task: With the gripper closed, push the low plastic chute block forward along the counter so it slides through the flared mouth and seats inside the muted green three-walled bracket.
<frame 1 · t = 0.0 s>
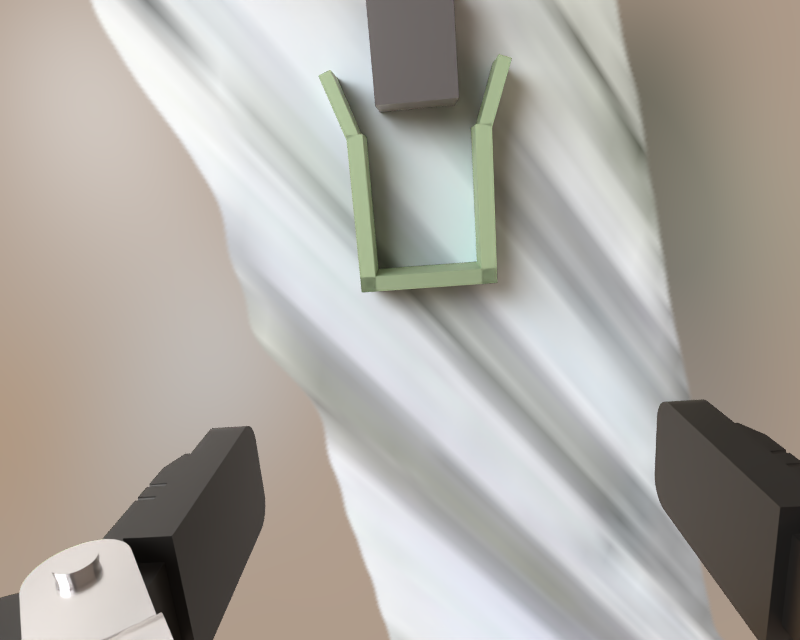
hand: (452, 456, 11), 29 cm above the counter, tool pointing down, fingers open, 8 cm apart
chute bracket: (423, 208, 39), on the counter
chute block: (412, 51, 36), on the counter
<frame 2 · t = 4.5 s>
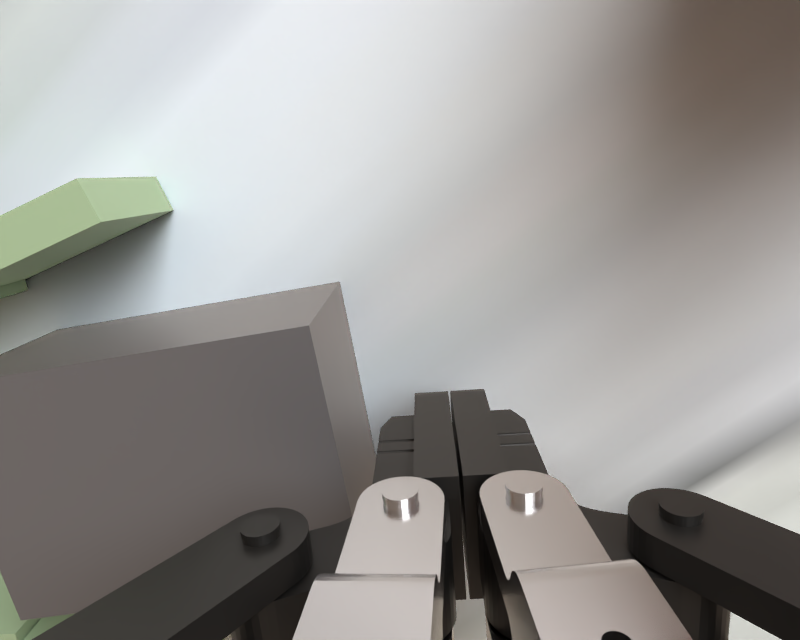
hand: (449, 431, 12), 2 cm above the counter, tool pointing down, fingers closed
chute block: (225, 399, 14), on the counter
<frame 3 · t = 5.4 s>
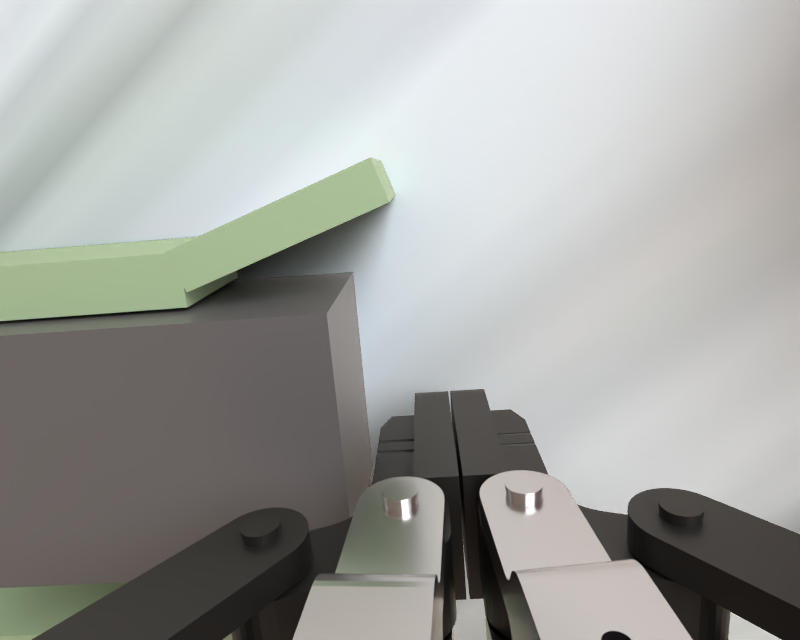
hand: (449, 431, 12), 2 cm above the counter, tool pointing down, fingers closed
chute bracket: (65, 427, 14), on the counter
chute block: (223, 380, 14), on the counter
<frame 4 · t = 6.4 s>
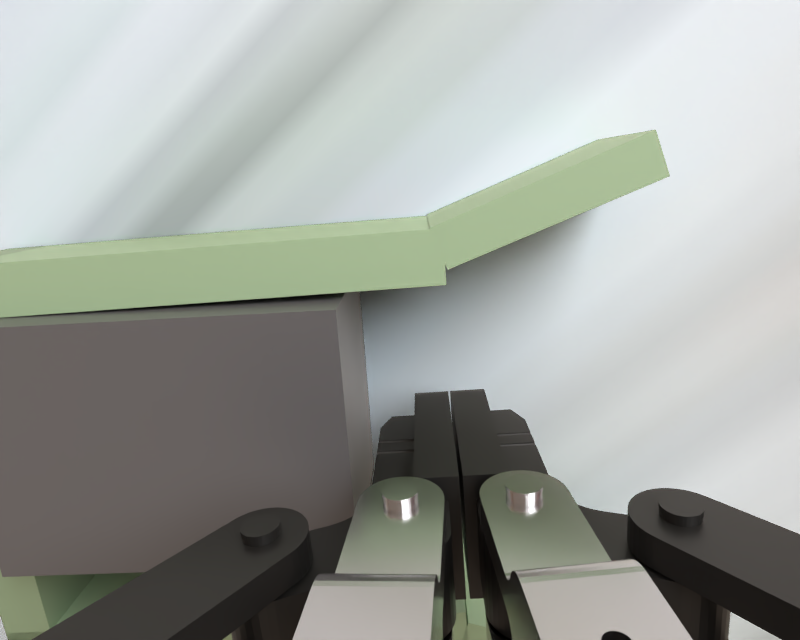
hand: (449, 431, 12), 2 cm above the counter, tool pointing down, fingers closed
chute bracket: (247, 413, 14), on the counter
chute block: (228, 375, 14), on the counter, touching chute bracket, gripper
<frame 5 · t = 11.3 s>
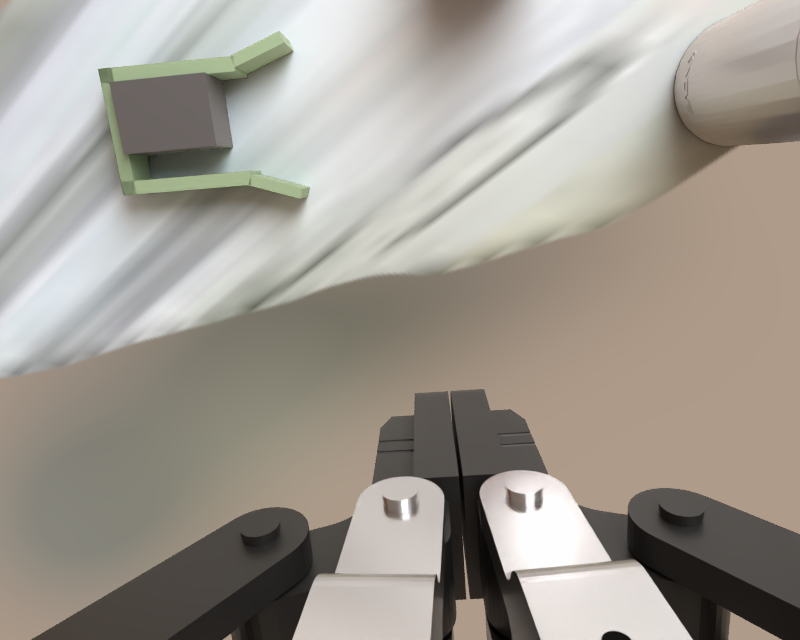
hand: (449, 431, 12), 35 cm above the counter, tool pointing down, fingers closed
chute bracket: (192, 130, 44), on the counter
chute block: (185, 118, 44), on the counter
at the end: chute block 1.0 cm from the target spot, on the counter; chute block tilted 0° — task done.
